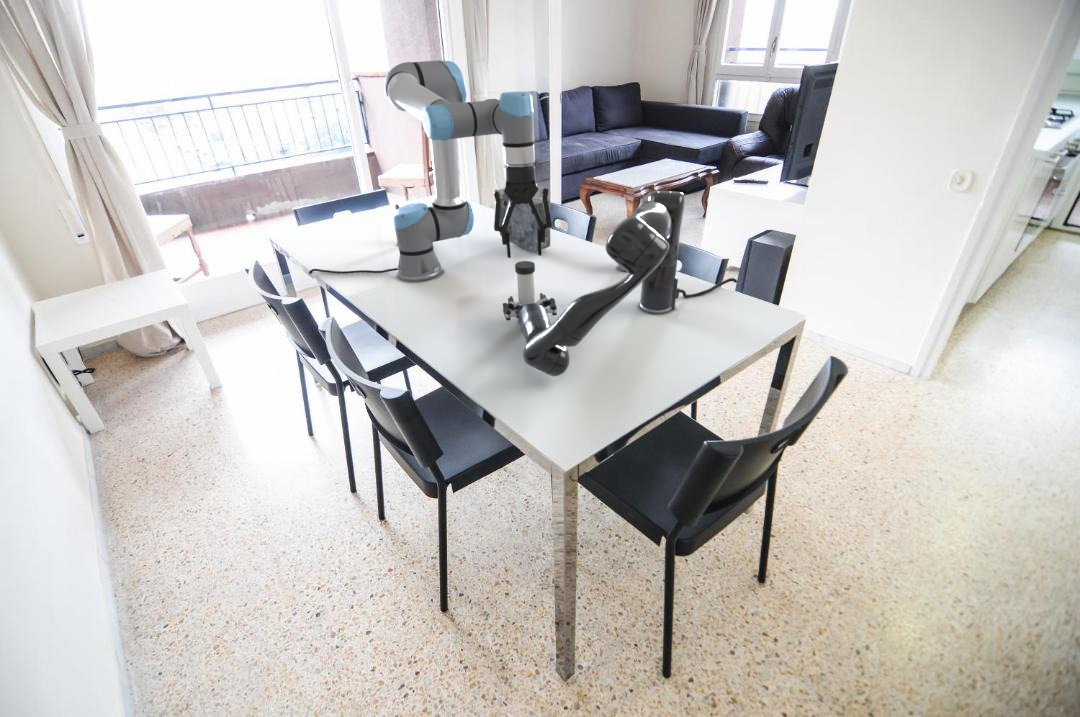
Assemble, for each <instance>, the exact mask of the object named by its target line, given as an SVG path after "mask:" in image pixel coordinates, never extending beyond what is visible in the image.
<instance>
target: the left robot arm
mask: <svg viewBox="0 0 1080 717" xmlns="http://www.w3.org/2000/svg"><path fill="white" fill-rule="evenodd" d="M383 91H384V95H385V97H386V99H387V101H388V102H389V103H390V104H391V106H393V107H395V109H397V110H399V111H401V112H407V113H409V114H411V115H412V116H414V117H415V118H416V119H418V120H419V121H420V122H421V123H422V126H423V130H424V132H425V134H426V136H427V138H428V139H429V142H430V144H429V145H430V151H431V152H430V154H431V162H432V169H433V170H432V173H433V182H434V191H435V192H434V193H435V195H434V196H433V197H432V198H431V206H428V205H427V204H425V203H424V202H423V203H422V202H417V203H410V204H406V205H403V206H401V207H399V209H398V210H396V209H395V211H394V213H393V215H392V219H393V228H394V230H395V231H394V232H395V236H396V243H397V242H398V245H397V247H398V251H399V259H398V265H397V267H395V268H387V269H381V270H371V269H370V270H366V269H364V270H363V269H360V270H358V269H357V270H346V271H343V270H341V271H340V270H330V269H320V268H312V269H310V270H309V271H308V274H312V273H313V272H318V273H319V272H320V273H329V274H337V275H339V274H341V275H344V274H345V275H346V274H358V273H359V274H361V273H362V274H363V273H364V274H383V273H384V274H385V273H389V272H394V271H397V276H398V278H399V279H400V280H402V281H406V282H413V283H414V282H425V281H429V280H432V279H435V278H438V277H439V276H440V275H441V274H442V273H443V268H442V264H441V263H440V260H439V259H438V256H437V254H436V252H435V250H434V243H435V242H440V241H441V242H442V241H446V240H450V239H455V238H458V239H459V238H461V237H463V236H466V235H469V234H470V232H472V230H473V227H474V220H475V218H474V217H475V216H474V211H473V207H472V205H471V203H470V202H469V201H468V200H467V198H466V197H465V196H464V195H463V194H462V186H461V172H460V171H461V170H460V158H459V156H460V155H459V144H458V139H463V138H464V139H465V138H472V137H473V138H474V137H481V136H490V135H501V138H502V157H503V163H504V164H505V166H504V167H503V170H504V186H503V188H501V189H497V188H496V189H493V196H494V199H495V204H494V216H493V217H494V218H493V230H494V231H495V232H498V233H500V232H501V234H502V237H501V243H502V245H504V246H506V254H507V258H508V259H510V258H512V257H511V256H512V255H511V242H510V239H509V230H507V227H508V224H509V221H510V218H511V215H512V212H513V209H514V207H515V204H521V203H523V204H528V203H529V205H530V207H531V209H532V211H533V214H534V216H535V218H536V220H537V223H538V225H539V227H540V228H537V249H538V251H537V255H538V256H542V250H541V242H545V229H547V228H550V229H551V228H552V227H553V224H552V217H551V210H550V211H549V205H548V199H549V198H548V196H549V188H548V186H546V185H545V186H538V184H537V182H536V181H537V180H536V165H535V164H534V163H535V162H536V154H535V153H536V152H535V123H534V122H535V121H534V120H535V118H534V113H535V112H534V111H535V109H534V106H533V96H532V94H531V93H530V92H529V91H506V92H505V91H504V92H502V93H501V94H500V96H499V99H498V98H487V99H484V100H478V101H467V96H468V95H467V94H468V91H467V86H466V80H465V77H464V75H463V72H462V71H461V68H460V67H459V66H458V64H456V62H454V61H452V60H442V59H441V60H439V59H438V60H424V61H406V62H401V63H399V64H397V65H395V66H393V67H392V68H391V69H390V70H389V71H388V72H387V74H386V76H385V78H384V82H383ZM466 101H467V102H466ZM504 193H505V194H506V195H507V196H508V198H509V199H510V201H509V205H508V208H507V211H506V214H505V217H504V220H503V223H502V226H500V225H499V221H500V206H501V200H500V199H502V198H503V194H504ZM537 193H538V194H539V196H542V202H543V208H544V214H545V220H546V222H545V223H543V222H542V220H541V217H540V215H539V213H538V211H537V208H536V206H535V204H534V202H533V197H534V196H535V195H537Z"/></svg>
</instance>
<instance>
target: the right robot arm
mask: <svg viewBox="0 0 1080 717" xmlns="http://www.w3.org/2000/svg"><path fill="white" fill-rule="evenodd" d="M685 208H686V197H685V195H684V193H683V192H682V191H681V192H680V191H668V190H667V191H664V190H663V191H662V190H661V191H660V190H652V191H649V192H648V193H646V195H645V196H644V198H643V200H642V202H641V204H640V205H639V206H638V207H637V208H636V209H635V210H634V211H633V212H632V214H630V216H628V217H626V218H624V219H623V220H622V221H621V222H620V223H618V225H617V226H615V227H614V228H613V230H612V231H611V233H609V236H608V237H607V239H606V243H605V252H606V254H607V255H608V256H609V257H610V258H611V259H612V260H613V261H614V263H616V264H617V265H618V264H619V265H620V266H621V267H622V268H623V269H625V270H627V271H626V272H627V273H628V274H627V275H626V276H624V277H623V278H622V279H621V280H620V281H618V282H616V283H614V284H611V285H610V286H607V287H605V288H602V289H598V290H595V291H591V292H589V293H585V294H583V295H581V296H579V297H577V298H576V299H574V300H573V301H572V302H571V303H569V304H568V306H567V307H566V308H565V309H564V310H563V312H562V313H561V314H560V316H558V318H557V319H556V320H555V321H554V322H553V323H551V320H550V318H549V315H548V314H551V315H552V316H557V315H558V306H557V303H556V300H555V298H554V297H551V298H547V296H546V294H544V293H543V292H540V293H539V299H538V300H537V301H535V303H531V304H522V303H520V302H519V301H517V302H515V301H514V297H513V295H511V296H509V297H508V298H507V302H503V303H502V312H503V315H504V317H505V320H506V321H511V319H512V318H516V319H518V323H519V325H520V331H521V333H522V335H523V336H524V339H525V342H526V344H525V346H524V348H523V351H522V357H523V361H524V363H525V364H527V365H528V366H529V367H532V368H533V369H536V370H538V371H540V372H541V373H544V374H545V375H549V376H552V377H559V376H561V375H563V374H564V373H565V372H566V371H567V370H568V368H569V366H570V361H571V360H570V353H569V350H568V349H567V348H568V347H569V348H574V347H576V346H577V345H579V344H580V343H581V342H582V341H583V340H584V339H585V337H586V336H587V335H588V334H589V333H590V332H591V331H592V329H593V328H595V326H596V325H597V323H599V322H600V321H601V319H603V318H604V317H605V316H606V315H607V314H608V313H610V311H611V310H613V309H614V308H615V307H616V306H617V305H619V303H621V302H622V301H623V300H624V299H626V297H627V296H629V295H630V294H631V293H632V292H633V291H634V290H635V289H636V288H638V287H639V285H641V290H640V300H639V308H640V309H641V310H643V311H644V312H646V313H650V314H657V315H658V314H666V313H669V312H671V311H673V310H675V308H676V300H677V299H679V298H680V293H681V294H682V297H683V298H687V299H689V298H694V297H699V296H702V295H705V294H708V293H711V292H712V291H714V290H715V289H717V288H718V287H721V286H724V285H725V284H728V283H730V282H734V283H736V284H737V283H738V282H739V281H738V279H736V278H734V277H729V278H726V279H725V280H723V281H721V282H718V283H716V284H715V285H713V286H711V287H710V288H707V289H705V290H702V291H699V292H697V293H692V294H687V291H686V290H684V289H682V288H679V286H678V283H679V279H678V277H676V275H677V266H678V259H679V258H678V257H679V252H680V251H679V249H680V240H681V231H682V225H683V220H684V214H685Z"/></svg>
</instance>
